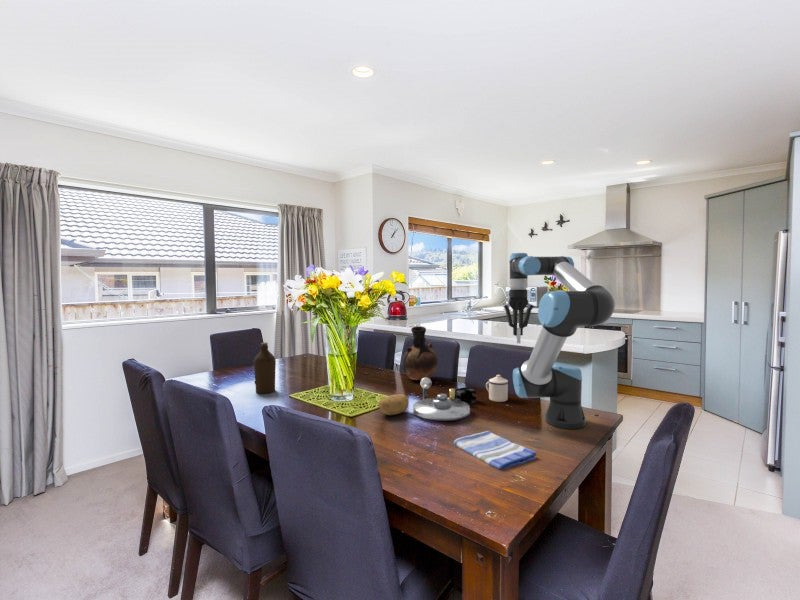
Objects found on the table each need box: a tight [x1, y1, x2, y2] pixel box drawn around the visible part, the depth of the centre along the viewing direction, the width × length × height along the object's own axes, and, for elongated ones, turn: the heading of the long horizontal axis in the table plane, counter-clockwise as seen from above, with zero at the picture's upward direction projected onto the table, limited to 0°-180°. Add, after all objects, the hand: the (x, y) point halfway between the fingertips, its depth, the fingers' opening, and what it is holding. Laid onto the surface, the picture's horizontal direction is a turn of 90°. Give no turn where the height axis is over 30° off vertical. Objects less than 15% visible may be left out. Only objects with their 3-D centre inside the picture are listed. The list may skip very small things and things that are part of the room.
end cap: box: [454, 385, 477, 405], centre depth 195 cm, size 10×7×7 cm
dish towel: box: [453, 430, 537, 471], centre depth 142 cm, size 17×24×3 cm
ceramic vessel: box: [401, 325, 439, 381], centre depth 237 cm, size 21×18×30 cm
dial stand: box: [419, 377, 432, 400], centre depth 193 cm, size 4×5×12 cm
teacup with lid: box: [485, 374, 509, 403], centre depth 201 cm, size 12×9×12 cm
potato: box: [377, 393, 409, 416], centre depth 179 cm, size 10×14×8 cm
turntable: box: [412, 388, 471, 422], centre depth 179 cm, size 24×24×7 cm
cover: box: [432, 393, 452, 409], centre depth 179 cm, size 8×8×5 cm
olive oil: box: [253, 342, 277, 395], centre depth 214 cm, size 11×11×25 cm
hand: (517, 342), depth 184 cm, fingers closed
